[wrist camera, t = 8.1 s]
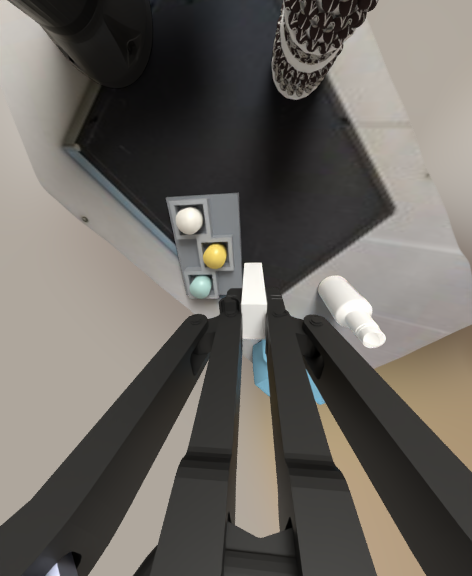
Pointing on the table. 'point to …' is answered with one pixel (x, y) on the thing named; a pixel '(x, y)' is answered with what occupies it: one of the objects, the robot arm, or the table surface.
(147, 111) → the table surface
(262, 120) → the table surface
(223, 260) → the button mustard
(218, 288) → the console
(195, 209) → the button ivory
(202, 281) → the button teal
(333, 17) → the decorative candle
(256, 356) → the container
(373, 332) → the spray bottle
